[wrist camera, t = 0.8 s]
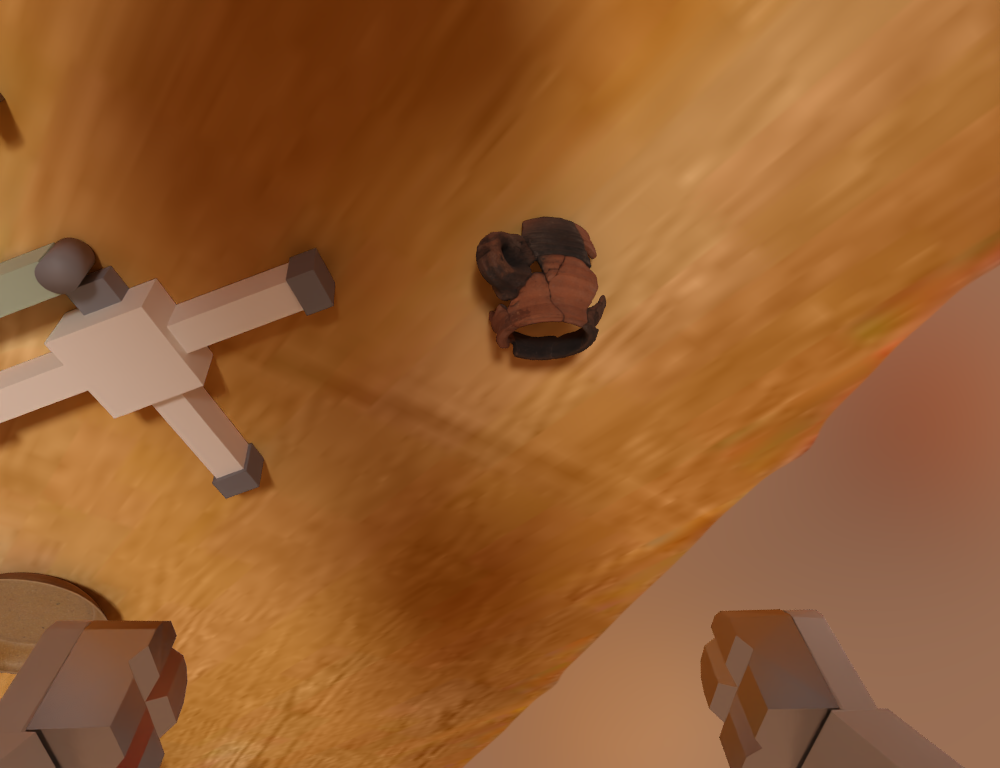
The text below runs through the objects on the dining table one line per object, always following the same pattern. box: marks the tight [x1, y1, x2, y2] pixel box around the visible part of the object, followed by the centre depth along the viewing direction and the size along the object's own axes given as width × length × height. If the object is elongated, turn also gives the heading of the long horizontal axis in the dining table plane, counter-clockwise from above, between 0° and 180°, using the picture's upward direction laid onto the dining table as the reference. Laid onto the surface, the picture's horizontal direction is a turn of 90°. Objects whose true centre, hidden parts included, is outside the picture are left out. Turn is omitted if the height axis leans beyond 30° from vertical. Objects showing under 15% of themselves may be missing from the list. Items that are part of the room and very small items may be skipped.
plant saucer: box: [0, 573, 107, 674], centre depth 62 cm, size 15×15×3 cm
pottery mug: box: [476, 217, 606, 360], centre depth 48 cm, size 12×10×8 cm
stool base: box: [0, 248, 335, 498], centre depth 49 cm, size 20×29×4 cm
